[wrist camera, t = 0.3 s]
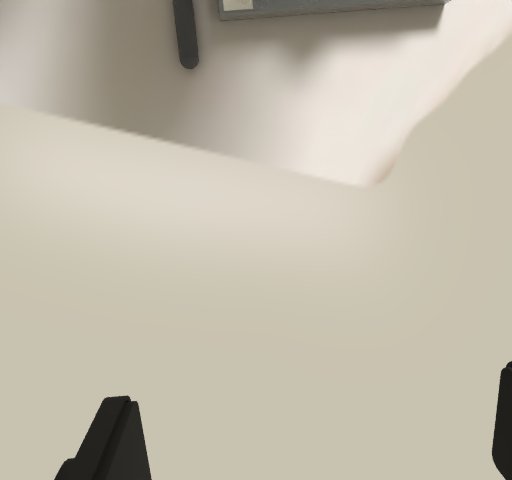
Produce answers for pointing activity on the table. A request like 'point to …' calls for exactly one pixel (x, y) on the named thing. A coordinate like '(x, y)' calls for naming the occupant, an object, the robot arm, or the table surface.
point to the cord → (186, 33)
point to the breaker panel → (306, 7)
